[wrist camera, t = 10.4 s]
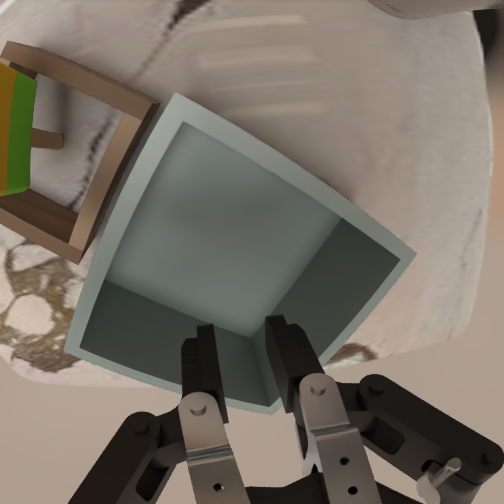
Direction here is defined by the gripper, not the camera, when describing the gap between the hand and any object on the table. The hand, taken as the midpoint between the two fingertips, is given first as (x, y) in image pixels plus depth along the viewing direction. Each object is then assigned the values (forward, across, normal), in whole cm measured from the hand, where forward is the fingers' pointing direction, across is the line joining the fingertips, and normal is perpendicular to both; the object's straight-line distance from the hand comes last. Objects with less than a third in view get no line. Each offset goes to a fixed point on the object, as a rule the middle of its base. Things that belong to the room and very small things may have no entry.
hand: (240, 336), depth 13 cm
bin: (+10, 0, 0) cm, 10 cm away
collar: (+10, +10, -8) cm, 16 cm away
